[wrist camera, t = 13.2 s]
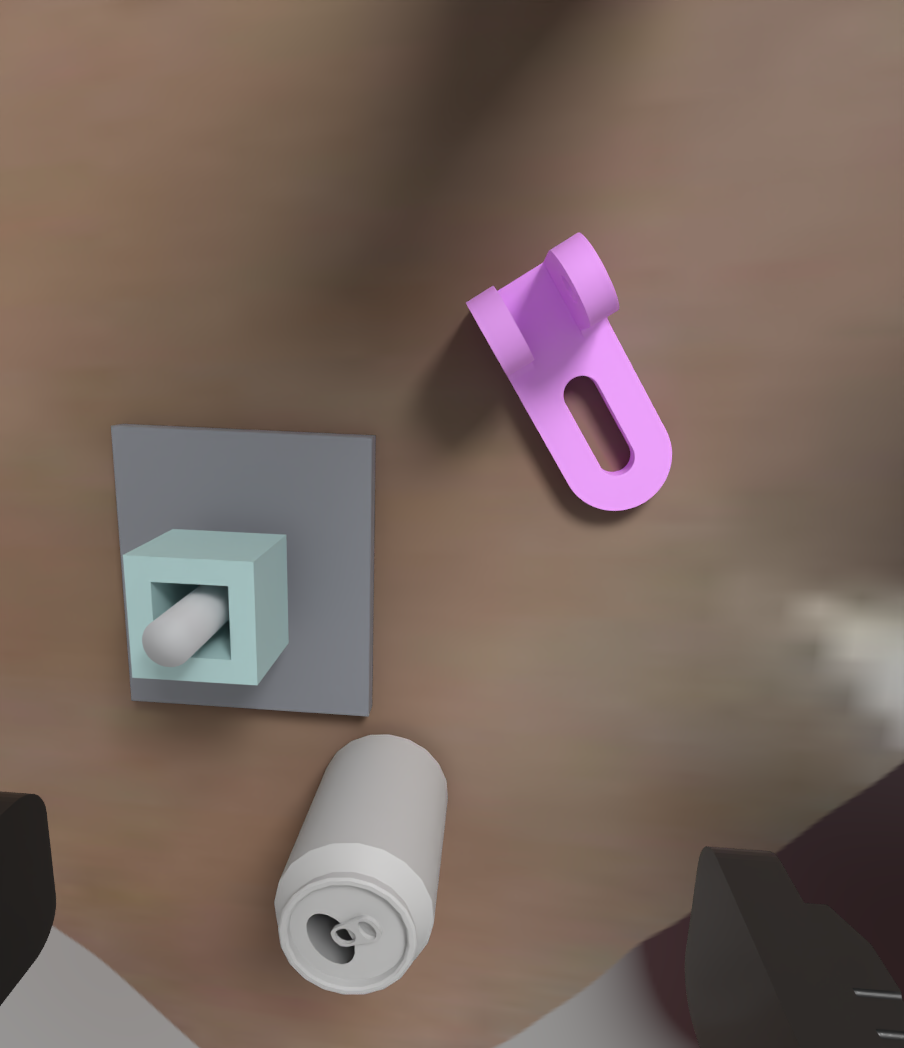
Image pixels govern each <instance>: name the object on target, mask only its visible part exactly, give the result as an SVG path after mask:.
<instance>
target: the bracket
mask: <svg viewBox="0 0 904 1048" xmlns="http://www.w3.org/2000/svg"><path fill="white" fill-rule="evenodd" d="M466 304H467V306H468V308H469V310H470V311H471V313H472V315H473V317H474V318H475V320H476V322H477V324H478V326H479V327H480V329H481V331H482V333H483V334H484V336H485V338H486V340H487V341H488V343H489V345H490V347H491V349H492V350H493V352H494V354H495V356H496V357H497V359H498V361H499V363H500V365H501V366H502V368H503V370H504V372H505V373H506V375H507V377H508V378H509V380H510V382H511V384H512V386H513V387H514V389H515V391H516V393H517V394H518V396H519V398H520V400H521V401H522V403H523V405H524V407H525V409H526V410H527V412H528V414H529V416H530V417H531V419H532V421H533V423H534V424H535V426H536V428H537V430H538V432H539V433H540V435H541V437H542V439H543V440H544V442H545V444H546V446H547V448H548V449H549V451H550V453H551V455H552V456H553V458H554V460H555V462H556V463H557V465H558V467H559V469H560V471H561V472H562V474H563V476H564V478H565V479H566V481H567V483H568V485H569V486H570V488H571V489H572V491H573V492H574V493H575V494H576V495H577V496H578V497H579V498H580V499H581V500H583V501H584V502H586V503H587V504H589V505H591V506H593V507H596V508H599V509H603V510H609V511H620V510H626V509H630V508H634V507H636V506H638V505H640V504H642V503H644V502H646V501H647V500H649V499H650V498H651V497H652V496H653V495H654V494H655V493H656V492H657V491H658V490H659V489H660V488H661V486H662V485H663V483H664V482H665V480H666V478H667V476H668V473H669V470H670V466H671V460H672V448H671V443H670V439H669V436H668V434H667V431H666V429H665V427H664V426H663V424H662V422H661V420H660V418H659V416H658V414H657V412H656V410H655V409H654V407H653V405H652V403H651V401H650V399H649V397H648V395H647V393H646V392H645V390H644V388H643V386H642V384H641V382H640V380H639V378H638V376H637V375H636V373H635V371H634V369H633V367H632V365H631V363H630V361H629V359H628V358H627V356H626V354H625V352H624V350H623V348H622V346H621V344H620V342H619V341H618V339H617V337H616V335H615V333H614V331H613V329H612V327H611V325H610V323H609V321H608V319H607V317H608V316H609V315H611V314H613V313H614V312H616V311H618V310H619V302H618V298H617V295H616V292H615V289H614V287H613V284H612V282H611V280H610V278H609V276H608V273H607V271H606V269H605V267H604V266H603V264H602V262H601V260H600V258H599V257H598V255H597V253H596V252H595V250H594V248H593V247H592V245H591V244H590V243H589V241H588V240H587V239H586V238H585V237H584V236H583V235H582V234H581V233H579V232H578V233H576V234H575V235H573V236H572V237H570V238H568V239H567V240H565V241H564V242H562V243H560V244H559V245H557V246H556V247H554V248H552V249H551V250H549V251H548V254H547V256H546V258H545V260H544V262H543V263H542V264H540V265H538V266H537V267H535V268H534V269H532V270H530V271H529V272H527V273H526V274H524V275H522V276H521V277H519V278H518V279H516V280H514V281H513V282H511V283H510V284H508V285H506V286H505V287H503V288H502V289H500V290H498V291H497V290H496V289H495V287H494V286H492V287H490V288H488V289H487V290H485V291H484V292H482V293H480V294H479V295H477V296H476V297H474V298H472V299H471V300H469V301H468V302H466ZM577 376H587V377H589V378H590V379H591V380H592V381H593V382H594V383H595V385H596V387H597V389H598V391H599V392H600V394H601V396H602V398H603V400H604V402H605V403H606V405H607V407H608V409H609V411H610V413H611V415H612V416H613V418H614V420H615V422H616V424H617V426H618V427H619V429H620V431H621V433H622V435H623V437H624V439H625V440H626V442H627V444H628V446H629V448H630V459H629V462H628V463H627V465H626V466H625V467H624V468H622V469H621V470H619V471H615V472H608V471H605V470H603V469H602V468H601V467H600V465H599V463H598V462H597V460H596V458H595V456H594V454H593V453H592V451H591V449H590V447H589V445H588V444H587V442H586V440H585V438H584V436H583V434H582V433H581V431H580V429H579V427H578V425H577V424H576V422H575V420H574V418H573V416H572V415H571V413H570V411H569V409H568V407H567V406H566V404H565V401H564V397H563V393H564V389H565V386H566V385H567V383H568V382H569V381H570V380H571V379H573V378H575V377H577Z"/></svg>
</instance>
